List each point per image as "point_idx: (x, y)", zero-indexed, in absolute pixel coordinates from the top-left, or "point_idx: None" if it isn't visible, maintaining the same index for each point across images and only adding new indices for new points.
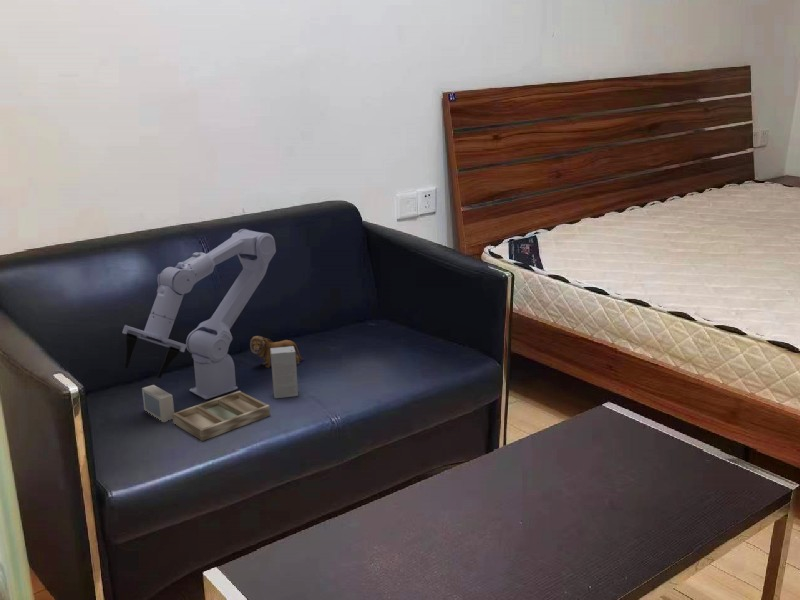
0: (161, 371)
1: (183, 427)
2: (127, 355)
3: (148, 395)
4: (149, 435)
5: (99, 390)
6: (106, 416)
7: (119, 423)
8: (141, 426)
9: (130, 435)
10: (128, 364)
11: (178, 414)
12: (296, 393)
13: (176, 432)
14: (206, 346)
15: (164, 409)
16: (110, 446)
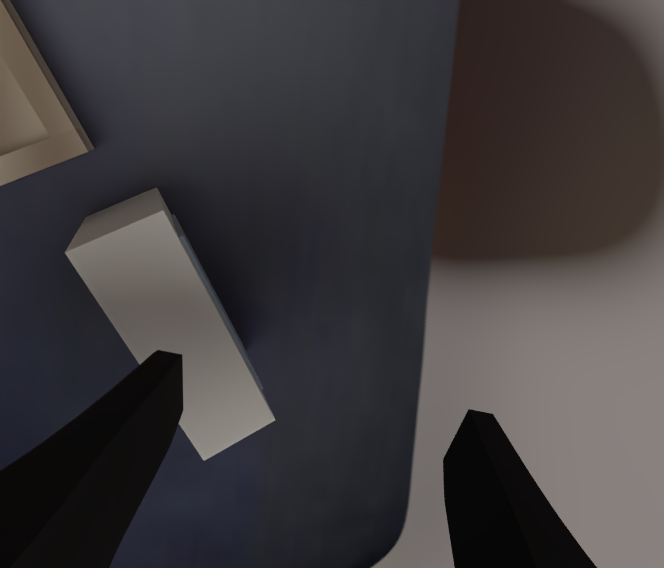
0: (136, 391)
1: (18, 19)
2: (555, 518)
3: (239, 343)
4: (238, 47)
5: (384, 553)
6: (392, 337)
7: (356, 253)
8: (270, 182)
9: (327, 98)
10: (482, 433)
11: (41, 114)
12: None
13: (74, 2)
14: None
15: (142, 204)
16: (419, 15)
